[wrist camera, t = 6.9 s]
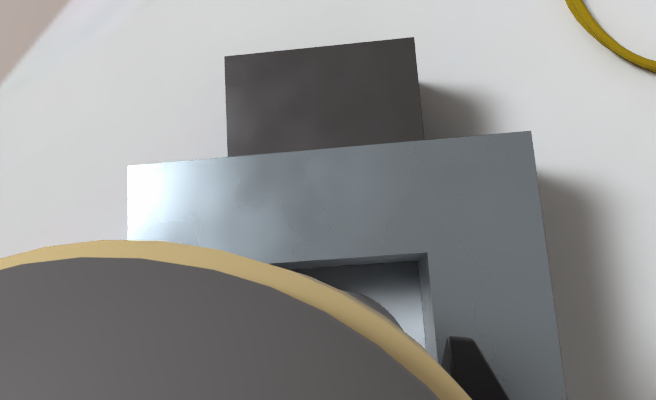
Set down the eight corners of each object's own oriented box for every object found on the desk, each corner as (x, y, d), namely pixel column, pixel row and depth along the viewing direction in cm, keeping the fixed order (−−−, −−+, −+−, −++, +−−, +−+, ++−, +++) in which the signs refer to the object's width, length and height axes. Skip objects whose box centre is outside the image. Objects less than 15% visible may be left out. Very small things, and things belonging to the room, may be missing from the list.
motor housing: (546, 528, 20) (592, 594, 16) (179, 540, 21) (127, 603, 17) (490, 71, 23) (516, 20, 19) (172, 102, 25) (127, 60, 20)
